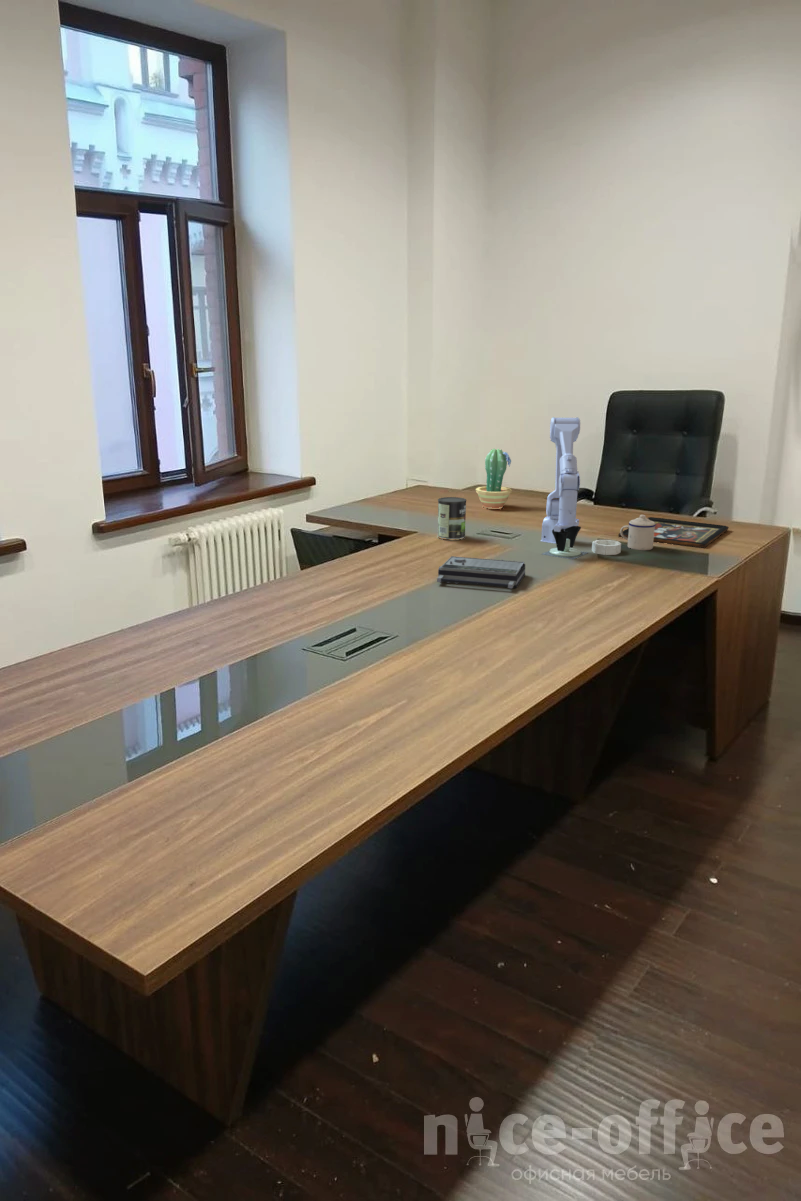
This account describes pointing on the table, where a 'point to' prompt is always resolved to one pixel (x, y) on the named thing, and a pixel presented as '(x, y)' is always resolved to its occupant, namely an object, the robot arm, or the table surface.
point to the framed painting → (684, 532)
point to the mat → (565, 557)
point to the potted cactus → (495, 480)
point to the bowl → (606, 547)
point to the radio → (481, 572)
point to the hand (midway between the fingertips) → (565, 549)
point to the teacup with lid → (640, 533)
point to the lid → (566, 551)
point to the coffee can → (451, 517)
